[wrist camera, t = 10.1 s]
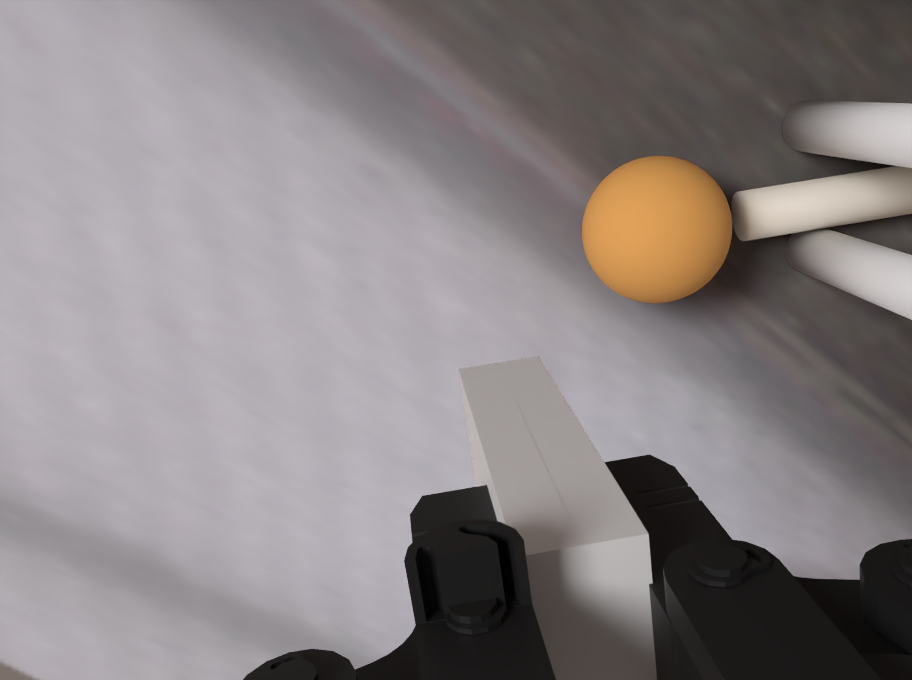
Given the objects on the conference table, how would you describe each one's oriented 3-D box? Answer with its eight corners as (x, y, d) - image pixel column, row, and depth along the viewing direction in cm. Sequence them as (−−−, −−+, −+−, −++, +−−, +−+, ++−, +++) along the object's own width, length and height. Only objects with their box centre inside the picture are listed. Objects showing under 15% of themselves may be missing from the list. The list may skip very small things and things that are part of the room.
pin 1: (829, 97, 34) (982, 100, 26) (829, 147, 35) (979, 167, 26) (781, 104, 34) (918, 110, 26) (782, 155, 35) (916, 177, 26)
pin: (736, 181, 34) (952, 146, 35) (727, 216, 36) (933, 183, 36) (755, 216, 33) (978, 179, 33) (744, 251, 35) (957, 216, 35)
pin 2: (831, 221, 36) (976, 263, 27) (831, 268, 36) (973, 323, 28) (784, 228, 36) (915, 273, 27) (785, 275, 36) (914, 333, 28)
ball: (647, 173, 28) (547, 166, 32) (655, 333, 30) (559, 304, 34) (764, 146, 30) (655, 143, 35) (765, 295, 32) (661, 273, 37)
